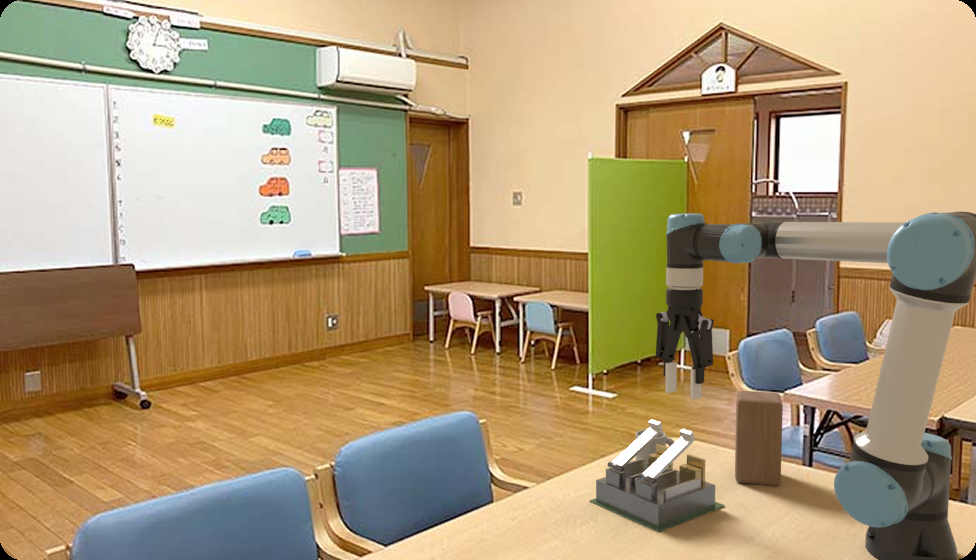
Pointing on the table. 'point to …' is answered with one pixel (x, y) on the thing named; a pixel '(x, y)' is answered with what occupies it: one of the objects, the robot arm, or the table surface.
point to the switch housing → (658, 492)
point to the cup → (652, 445)
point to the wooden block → (758, 438)
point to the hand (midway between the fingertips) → (683, 394)
